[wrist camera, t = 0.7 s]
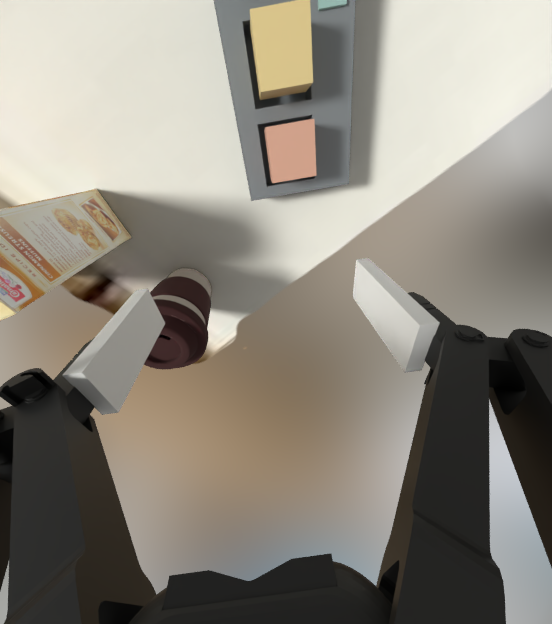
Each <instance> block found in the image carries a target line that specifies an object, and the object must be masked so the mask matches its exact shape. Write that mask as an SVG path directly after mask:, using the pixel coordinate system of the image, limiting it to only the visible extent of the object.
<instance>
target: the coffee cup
mask: <svg viewBox="0 0 552 624" xmlns="http://www.w3.org/2000/svg"><path fill="white" fill-rule="evenodd" d="M211 293H212V289H211V285H210V282H209V281H208V279H207V278H206V277H205V276H204V275H203V274H202V273H200V272H199V271H196V270H194V269H189V268H181V269H178V270H175V271H173V272H172V273H171V274H170V275H169V276H168V277H167V278H166V279H164V280H163V281H161V282H160V283H159V284H158V285H157V286H156V287H155V288H154V289H153V290H152V291H151V292H150V294H151V296H152V298H153V300H154V302H155V304H156V306H157V308H158V310H159V312H160V314H161V316H162V318H163V320H164V322H165V325H164V327H163V329H162V331H161V333H160V334H159V336H158V338H157V340H156V342H155V344H154V346H153V348H152V350H151V352H150V353H149V355H148V357H147V359H146V361H145V363H144V365H146V366H149V367H153V368H156V369H173V368H180V367H185V366H188V365H191V364H192V363H194V362H196V361H197V360H199V359H200V358H201V357H202V355H203V354H204V352H205V350H206V346H207V342H208V331H207V326H208V320H209V314H210V308H211V300H210V299H211Z"/></svg>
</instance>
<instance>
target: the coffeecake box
mask: <svg viewBox="0 0 552 624" xmlns="http://www.w3.org/2000/svg"><path fill="white" fill-rule="evenodd" d="M131 238H132V237H131V236H130V234H129V233H128V232H127V230H126V229H125V228H124V226H123V225H122V224H121V222H120V221H119V220H118V218H117V217H116V215H115V214H114V213H113V211H112V210H111V208H110V207H109V205H108V204H107V202H106V201H105V200H104V198H103V197H102V196H101V194H100V193H99V192H98V190H97V189H93V190H90V191H85V192H81V193H76V194H71V195H66V196H62V197H57V198H52V199H47V200H42V201H37V202H32V203H28V204H23V205H18V206H13V207H8V208H4V209H0V321H1V320H3V319H6V318H8V317H10V316H13V315H15V314H17V313H18V312H19V311H20V310H21V309H23V308H24V307H26V306H27V305H29V304H30V303H32V302H33V301H35V300H36V299H37V298H39V297H41V296H43V295H44V294H46V293H47V292H49V291H50V290H52V289H53V288H55V287H56V286H58V285H60V284H61V283H63V282H64V281H66V280H67V279H69V278H70V277H72V276H73V275H75V274H76V273H78V272H79V271H81V270H82V269H84V268H85V267H87V266H88V265H90V264H91V263H93V262H95V261H96V260H98V259H99V258H101V257H103V256H104V255H106V254H107V253H109V252H110V251H112V250H113V249H115V248H116V247H117V246H119V245H121V244H122V243H124V242H125V241H127V240H129V239H131Z"/></svg>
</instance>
